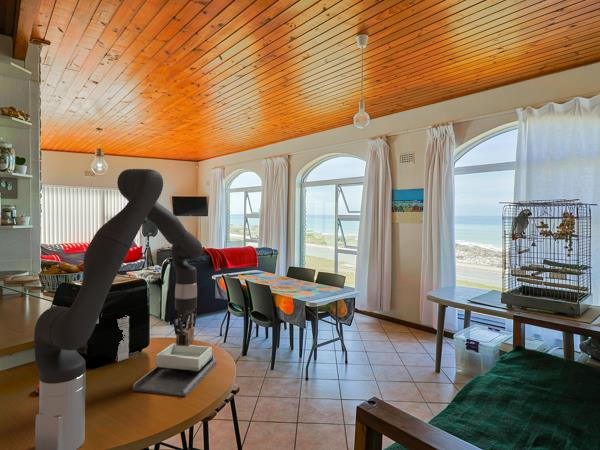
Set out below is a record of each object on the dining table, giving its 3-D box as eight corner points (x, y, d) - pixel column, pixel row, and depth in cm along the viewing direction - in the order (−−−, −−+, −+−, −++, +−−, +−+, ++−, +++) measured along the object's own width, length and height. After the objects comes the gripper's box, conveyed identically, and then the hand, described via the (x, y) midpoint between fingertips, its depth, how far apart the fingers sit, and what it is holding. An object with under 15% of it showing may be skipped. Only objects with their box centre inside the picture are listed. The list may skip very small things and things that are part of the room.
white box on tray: (198, 375, 124) (198, 359, 124) (155, 371, 126) (156, 355, 126) (211, 361, 135) (212, 347, 135) (172, 358, 138) (172, 343, 138)
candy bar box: (100, 355, 141) (100, 313, 141) (112, 351, 146) (113, 311, 145) (117, 362, 135) (117, 319, 135) (129, 358, 140) (130, 316, 139)
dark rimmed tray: (185, 396, 112) (186, 383, 112) (132, 390, 115) (132, 378, 115) (216, 364, 137) (216, 353, 137) (171, 359, 139) (171, 349, 139)
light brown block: (188, 346, 128) (188, 332, 128) (176, 345, 129) (176, 331, 128) (193, 341, 132) (194, 328, 132) (182, 340, 133) (182, 327, 133)
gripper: (186, 300, 122) (185, 351, 123) (204, 291, 136) (203, 337, 137) (166, 299, 123) (165, 349, 124) (185, 290, 138) (184, 335, 138)
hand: (185, 342), depth 131 cm, fingers closed on light brown block, 4 cm apart
